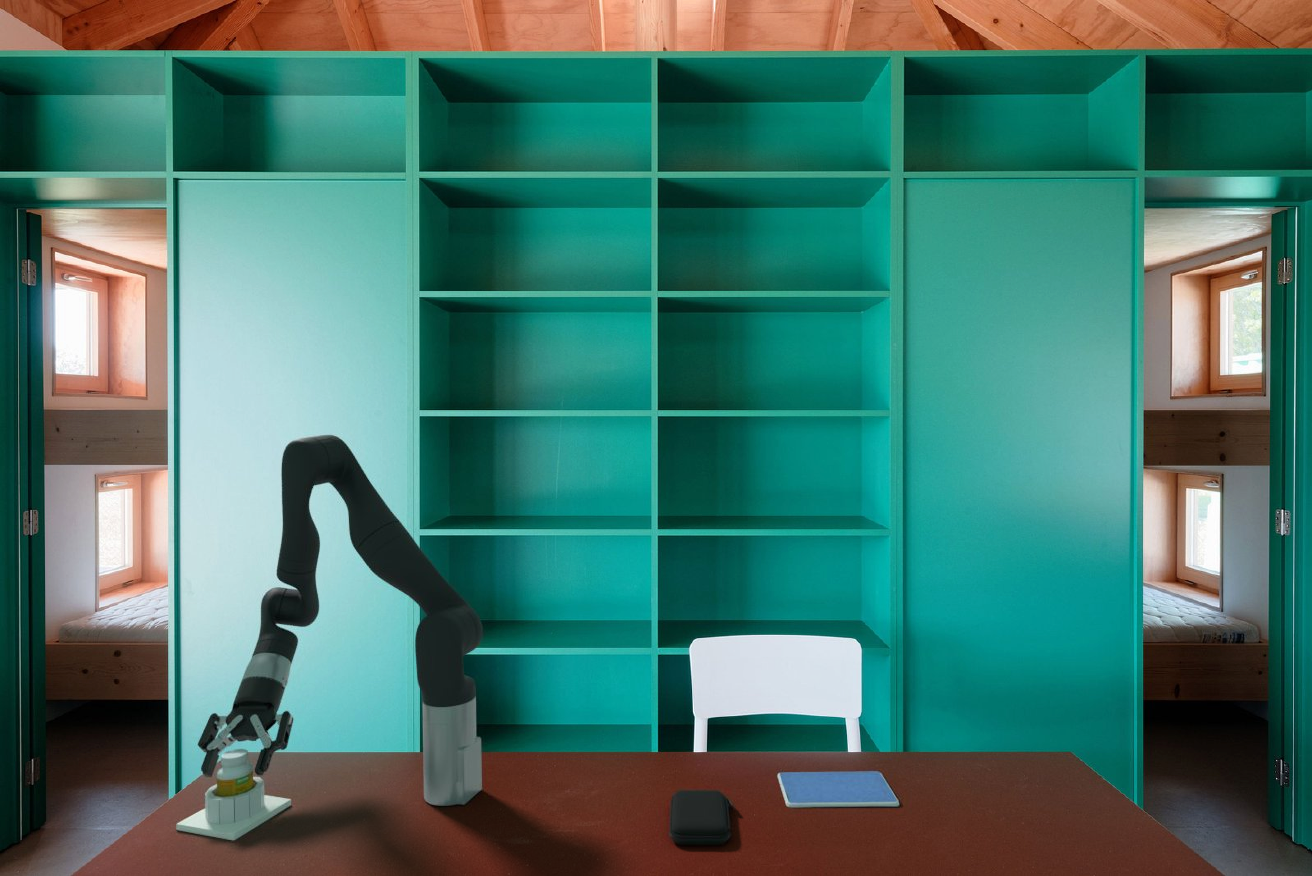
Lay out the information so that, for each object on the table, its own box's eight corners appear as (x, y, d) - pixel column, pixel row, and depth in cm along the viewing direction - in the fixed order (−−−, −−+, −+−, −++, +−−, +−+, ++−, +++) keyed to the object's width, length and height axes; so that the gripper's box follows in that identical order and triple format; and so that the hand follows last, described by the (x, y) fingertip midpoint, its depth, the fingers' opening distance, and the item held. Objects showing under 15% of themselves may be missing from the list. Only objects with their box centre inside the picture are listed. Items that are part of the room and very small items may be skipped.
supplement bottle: (237, 819, 124) (236, 761, 124) (209, 817, 126) (208, 759, 125) (260, 804, 130) (259, 748, 130) (233, 801, 131) (232, 745, 131)
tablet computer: (786, 811, 128) (786, 803, 128) (776, 777, 141) (776, 770, 141) (900, 810, 128) (900, 802, 128) (880, 776, 140) (880, 769, 140)
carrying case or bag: (738, 850, 116) (732, 803, 130) (738, 830, 116) (732, 786, 130) (669, 850, 116) (671, 803, 131) (668, 830, 116) (671, 786, 131)
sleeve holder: (291, 805, 131) (290, 776, 131) (233, 840, 120) (233, 809, 120) (237, 796, 135) (236, 768, 135) (176, 829, 123) (176, 799, 123)
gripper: (215, 676, 135) (179, 767, 124) (296, 673, 136) (268, 764, 124) (231, 695, 140) (198, 784, 129) (309, 692, 141) (283, 781, 130)
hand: (232, 774), depth 127 cm, fingers open, 8 cm apart
